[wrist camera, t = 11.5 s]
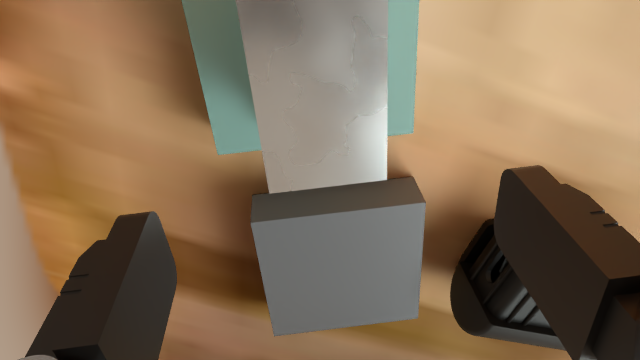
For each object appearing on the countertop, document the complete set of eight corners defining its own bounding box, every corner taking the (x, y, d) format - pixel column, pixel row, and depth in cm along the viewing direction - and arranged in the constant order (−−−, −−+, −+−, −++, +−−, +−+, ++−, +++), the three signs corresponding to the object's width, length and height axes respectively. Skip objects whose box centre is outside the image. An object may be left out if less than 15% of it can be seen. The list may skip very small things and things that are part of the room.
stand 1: (400, 111, 27) (413, 133, 25) (222, 130, 27) (217, 154, 25) (405, -98, 21) (423, -97, 19) (177, -77, 21) (164, -72, 19)
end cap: (437, 281, 36) (468, 353, 31) (481, 215, 33) (524, 282, 27) (537, 301, 39) (582, 370, 33) (587, 241, 35) (647, 307, 30)
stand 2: (407, 288, 36) (417, 318, 34) (274, 305, 36) (274, 336, 33) (413, 176, 30) (425, 202, 28) (252, 195, 30) (250, 222, 27)
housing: (244, -37, 20) (233, -10, 14) (356, -49, 20) (388, -26, 14) (270, 126, 24) (269, 193, 19) (361, 115, 24) (387, 179, 19)
